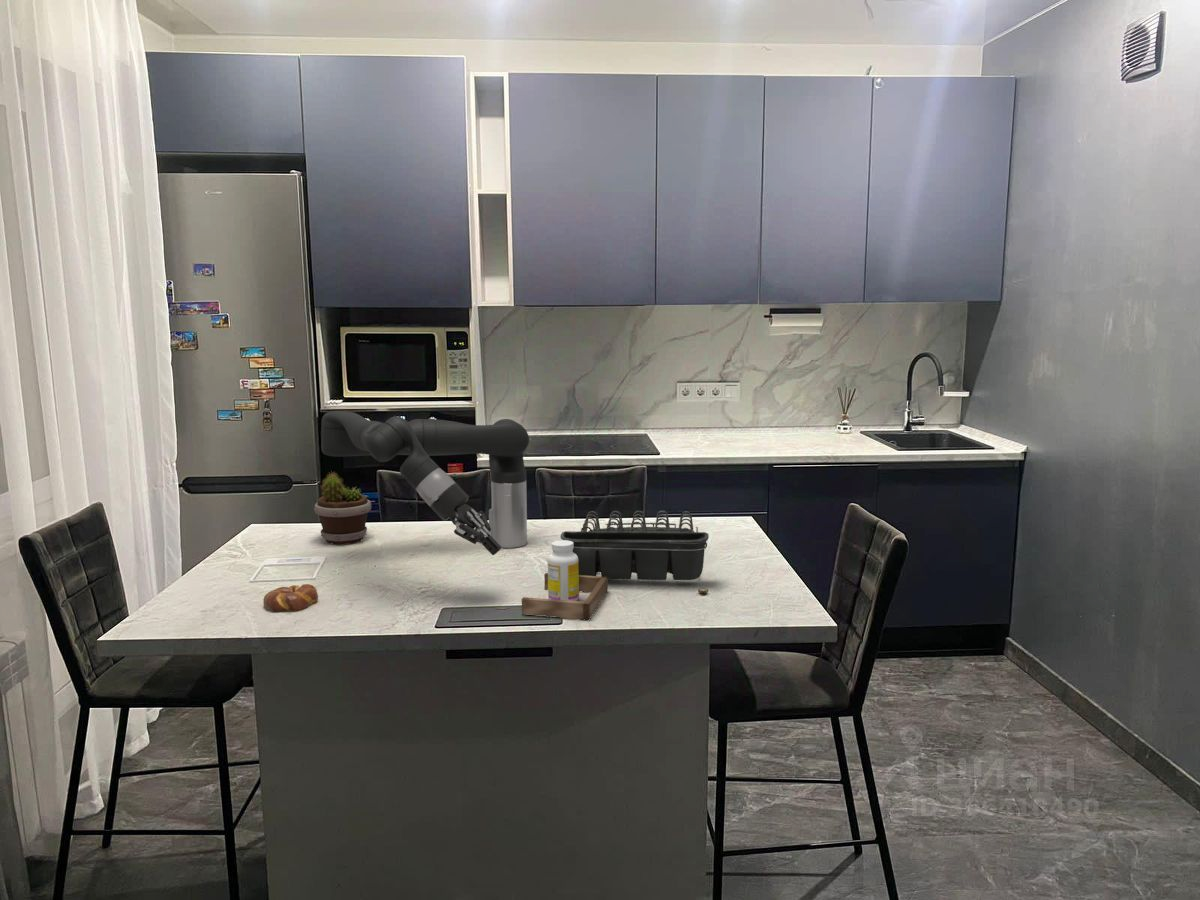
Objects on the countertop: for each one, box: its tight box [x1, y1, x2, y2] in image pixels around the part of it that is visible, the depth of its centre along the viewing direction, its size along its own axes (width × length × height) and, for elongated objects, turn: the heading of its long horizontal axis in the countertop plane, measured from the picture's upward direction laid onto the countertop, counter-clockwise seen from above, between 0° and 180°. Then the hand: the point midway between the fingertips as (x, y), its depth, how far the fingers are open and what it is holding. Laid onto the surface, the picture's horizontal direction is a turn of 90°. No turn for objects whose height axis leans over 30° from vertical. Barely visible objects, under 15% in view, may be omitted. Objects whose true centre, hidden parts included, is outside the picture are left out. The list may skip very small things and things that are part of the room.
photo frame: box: [248, 555, 328, 584], centre depth 214 cm, size 15×1×18 cm
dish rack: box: [559, 510, 710, 581], centre depth 222 cm, size 34×44×12 cm
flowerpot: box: [313, 470, 372, 546], centre depth 239 cm, size 14×15×20 cm
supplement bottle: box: [547, 539, 580, 601], centre depth 192 cm, size 7×7×13 cm
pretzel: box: [262, 583, 319, 613], centre depth 190 cm, size 12×11×4 cm
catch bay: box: [521, 572, 609, 621], centre depth 191 cm, size 14×18×4 cm
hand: (497, 551), depth 191 cm, fingers closed
